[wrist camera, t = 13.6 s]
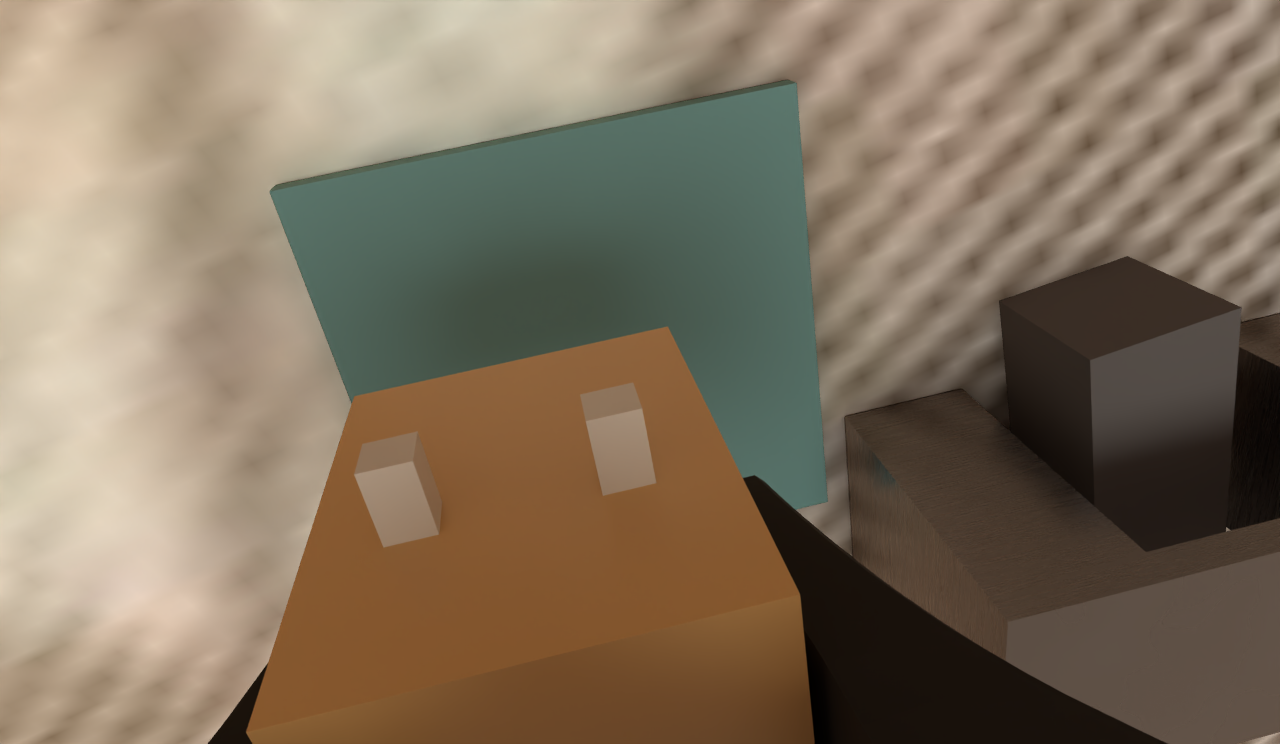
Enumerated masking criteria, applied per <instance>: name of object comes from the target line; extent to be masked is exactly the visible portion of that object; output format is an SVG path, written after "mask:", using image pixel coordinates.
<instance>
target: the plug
mask: <svg viewBox="0 0 1280 744" xmlns="http://www.w3.org/2000/svg"><path fill="white" fill-rule="evenodd" d="M246 733H247V735H248V737H249V738H250V740H251V742H252V744H815V741H814V731H813V721H812V711H811V700H810V690H809V680H808V670H807V660H806V649H805V639H804V629H803V619H802V609H801V598H800V593H799V591H798V589H797V587H796V585H795V583H794V581H793V579H792V577H791V575H790V573H789V571H788V569H787V567H786V565H785V563H784V561H783V559H782V557H781V555H780V553H779V551H778V549H777V547H776V545H775V542H774V540H773V538H772V536H771V534H770V532H769V530H768V528H767V526H766V524H765V522H764V520H763V518H762V516H761V514H760V512H759V510H758V508H757V506H756V504H755V502H754V500H753V498H752V496H751V494H750V492H749V490H748V488H747V486H746V484H745V482H744V480H743V478H742V476H741V474H740V472H739V470H738V468H737V466H736V464H735V461H734V459H733V457H732V455H731V453H730V451H729V449H728V447H727V445H726V443H725V441H724V439H723V437H722V435H721V433H720V431H719V429H718V427H717V425H716V423H715V421H714V419H713V417H712V415H711V413H710V411H709V409H708V407H707V405H706V403H705V401H704V399H703V397H702V395H701V393H700V391H699V389H698V387H697V385H696V383H695V380H694V378H693V376H692V374H691V372H690V370H689V368H688V366H687V364H686V362H685V360H684V358H683V356H682V354H681V352H680V350H679V348H678V346H677V344H676V342H675V340H674V338H673V336H672V334H671V332H670V330H669V328H668V327H663V328H659V329H654V330H650V331H645V332H641V333H636V334H632V335H627V336H623V337H618V338H614V339H609V340H605V341H600V342H596V343H591V344H587V345H582V346H578V347H573V348H569V349H564V350H560V351H555V352H551V353H546V354H542V355H537V356H533V357H529V358H524V359H520V360H515V361H511V362H506V363H502V364H497V365H493V366H488V367H484V368H479V369H475V370H470V371H466V372H461V373H457V374H452V375H448V376H443V377H439V378H434V379H430V380H425V381H421V382H416V383H412V384H407V385H403V386H398V387H394V388H389V389H385V390H380V391H376V392H371V393H367V394H363V395H358V396H354V399H353V402H352V405H351V408H350V411H349V414H348V417H347V420H346V423H345V427H344V430H343V433H342V436H341V439H340V442H339V445H338V448H337V451H336V455H335V458H334V461H333V464H332V467H331V470H330V473H329V476H328V479H327V482H326V486H325V489H324V492H323V495H322V498H321V501H320V504H319V507H318V510H317V514H316V517H315V520H314V523H313V526H312V529H311V532H310V535H309V538H308V541H307V545H306V548H305V551H304V554H303V557H302V560H301V563H300V566H299V569H298V572H297V576H296V579H295V582H294V585H293V588H292V591H291V594H290V597H289V600H288V604H287V607H286V610H285V613H284V616H283V619H282V622H281V625H280V628H279V631H278V635H277V638H276V641H275V644H274V647H273V650H272V653H271V656H270V659H269V663H268V666H267V669H266V672H265V675H264V678H263V681H262V684H261V687H260V690H259V694H258V697H257V700H256V703H255V706H254V709H253V712H252V715H251V718H250V721H249V725H248V728H247V731H246Z"/></svg>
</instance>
